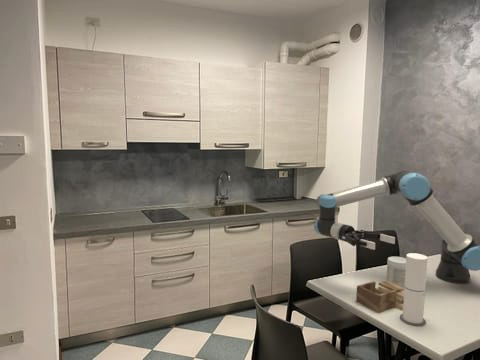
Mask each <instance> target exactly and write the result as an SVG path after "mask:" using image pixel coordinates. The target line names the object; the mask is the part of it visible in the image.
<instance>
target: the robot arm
mask: <svg viewBox="0 0 480 360" xmlns="http://www.w3.org/2000/svg"><path fill="white" fill-rule="evenodd" d="M384 195H386V196H392V195H401V196H402V197H403V198H404V200H406V201H407V203H408V204H409V205H410V206H411V207H416V208H417V209H418V211H419V212H420V213H421V214H422V215H423V216H424V218H425V219H426V220H427V221H428V222H429V224H431V226H432V227H433V228H434V230H435V232H437V233H438V235H439V236H440V237H441V249H440V251H441V252H440V261H439V263H438V265H437V268H436V269H435V276H436V278H438V279H440V280H442V281H446V282H449V283H454V284H468V283H470V282H471V273H470V271H473V272H474V271H475V272H476V271H480V244H479V243H478V242H477V241H476V240H475V239H474V237H472V235H471V234H469V233H464V231H463V230H462V229H461V227H460V226H459V225H458V224H457V222H456V221H454V219H453V218H452V216H450V215H449V213H448V212H447V211H446V210H445V208H444V207H443V206H442V205H441V204H440V203H439V201H438V200H437V199H436V197H434V189H432V187H431V183H430V182H429V180H428V179H427V178H426V177H425V176H424V175H422V174H420V173H418V172H412V171H407V170H403V171H398V172H394V173H392V174H389V175H385V176H383V177H381V179H379V180H378V179H377V180H375V181H370V182H367V183H363V184H361V185H357V186H353V187H350V188H346V189H343V190H339V191H334V192H331V193H327V194H320V195H318V196H317V197H316V200H315V204H316V207H317V208H318V210H319V211H318V213H319V215H318V216H319V217H318V218H317V219H316V220H315V221H314V224H313V230H314V232H316V234H319V235H321V236H325V237H329V238H333V239H335V240H337V241H342V242H346V243H348V244H350V245H351V246H353V247H356V248H360V247H364V248H367V249H370V250H373V251H374V250H376V242H374V241H371V240H379V241H381V242H385V243H388V244H393V245H395V244H396V242H395V241H396V237H395V236H392V235H391V236H390V235H387V234H384V232H382V231H379V232H378V231H373V230H372V231H371V230H363V229H360V230H359V229H358V230H356V229H355V227H354V226H352V225H348V224H345V223H341V222H338V221H337V222H336V208H338V207H339V208H340V207H342V206H346V205H349V204H350V205H351V204H353V203H359V202H361V201H365V200H369V199H373V198H376V197H380V196H384ZM366 239H368V240H366ZM369 240H370V241H369Z"/></svg>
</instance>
